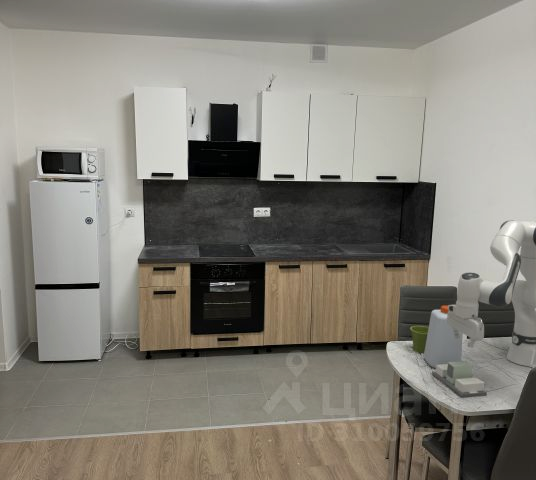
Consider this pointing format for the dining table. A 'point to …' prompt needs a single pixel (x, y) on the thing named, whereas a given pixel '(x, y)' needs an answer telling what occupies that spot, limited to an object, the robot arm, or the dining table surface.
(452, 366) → the block
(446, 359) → the plastic bottle
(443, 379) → the board
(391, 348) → the dining table surface
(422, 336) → the plant pot
